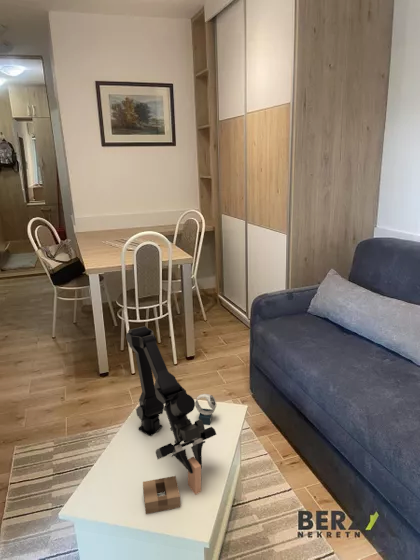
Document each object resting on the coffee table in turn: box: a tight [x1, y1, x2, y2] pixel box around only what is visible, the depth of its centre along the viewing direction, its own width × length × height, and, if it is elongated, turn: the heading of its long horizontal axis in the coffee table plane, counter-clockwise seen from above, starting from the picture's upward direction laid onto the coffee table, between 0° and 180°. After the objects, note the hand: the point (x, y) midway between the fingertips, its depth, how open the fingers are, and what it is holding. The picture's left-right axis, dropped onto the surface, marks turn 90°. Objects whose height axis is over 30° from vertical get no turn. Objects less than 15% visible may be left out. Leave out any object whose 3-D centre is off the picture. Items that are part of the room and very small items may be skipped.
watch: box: [195, 393, 217, 426], centre depth 155 cm, size 6×8×11 cm
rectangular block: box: [187, 456, 202, 496], centre depth 124 cm, size 4×2×10 cm, turn 34°
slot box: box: [142, 475, 181, 515], centre depth 121 cm, size 8×10×4 cm
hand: (196, 471), depth 122 cm, fingers open, 3 cm apart
